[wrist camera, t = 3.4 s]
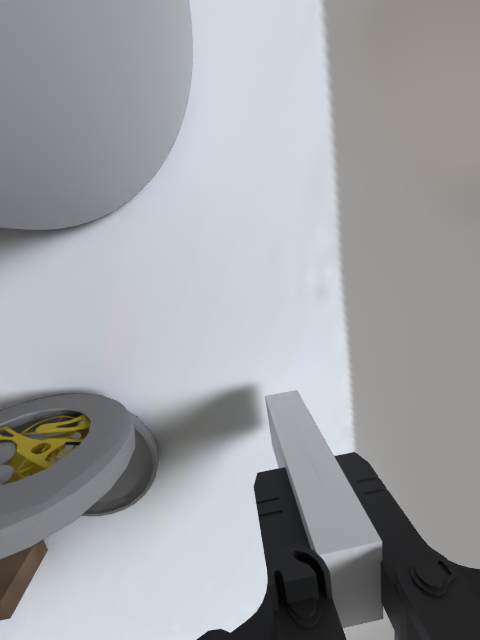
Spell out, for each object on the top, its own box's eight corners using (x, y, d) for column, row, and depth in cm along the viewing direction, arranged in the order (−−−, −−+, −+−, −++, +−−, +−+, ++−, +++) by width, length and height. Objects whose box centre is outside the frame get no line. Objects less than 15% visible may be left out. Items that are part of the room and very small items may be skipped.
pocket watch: (90, 517, 15) (-115, 967, 6) (-29, 415, 13) (-688, 875, 4) (208, 445, 15) (195, 811, 5) (105, 324, 13) (-253, 583, 3)
